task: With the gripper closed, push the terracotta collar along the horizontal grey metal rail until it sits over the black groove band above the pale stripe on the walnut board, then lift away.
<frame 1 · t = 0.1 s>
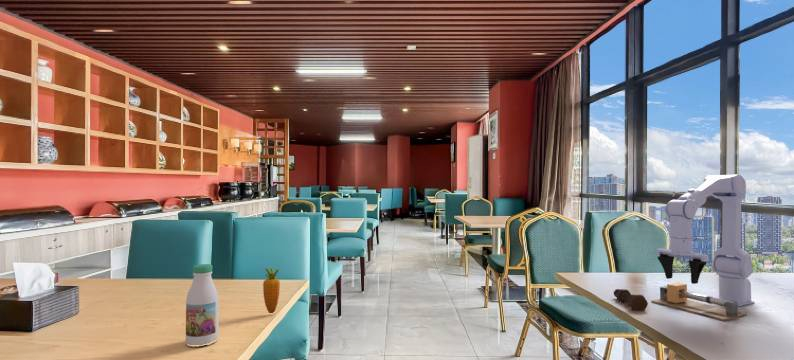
hand: (681, 280, 130), 10 cm above the table, tool pointing down, fingers open, 7 cm apart
rail: (696, 308, 134), resting on board
carrot: (271, 315, 129), on the table
collar: (677, 292, 139), point 4 cm above the table, slide at 0.0 cm
board: (696, 308, 134), on the table
milk bottle: (202, 343, 107), on the table
bolt: (628, 305, 139), on the table
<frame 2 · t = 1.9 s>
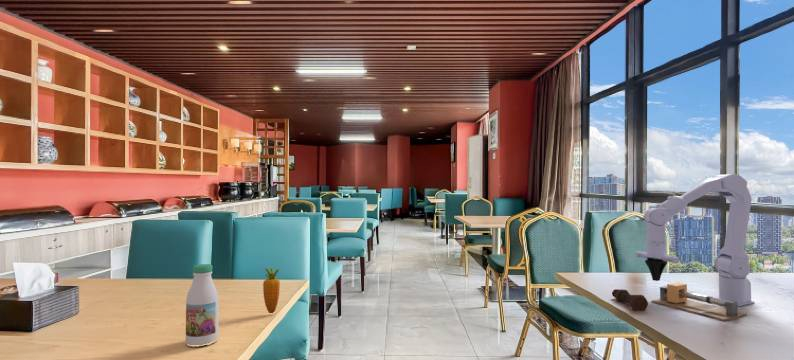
hand: (656, 280, 146), 7 cm above the table, tool pointing down, fingers closed
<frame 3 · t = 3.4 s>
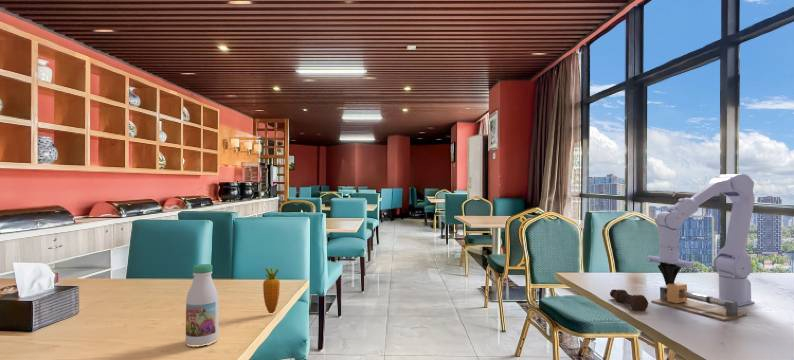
hand: (669, 285, 142), 6 cm above the table, tool pointing down, fingers closed
collar: (677, 292, 139), point 4 cm above the table, slide at 0.0 cm, touching gripper
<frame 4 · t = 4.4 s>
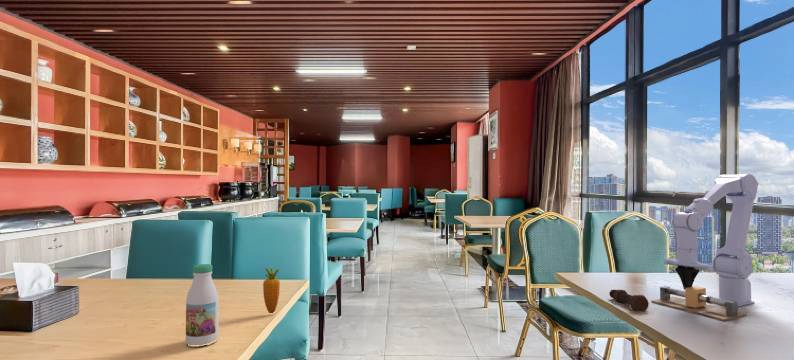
hand: (687, 289, 136), 6 cm above the table, tool pointing down, fingers closed
collar: (695, 296, 134), point 4 cm above the table, slide at 5.8 cm, touching gripper
everything else where it was.
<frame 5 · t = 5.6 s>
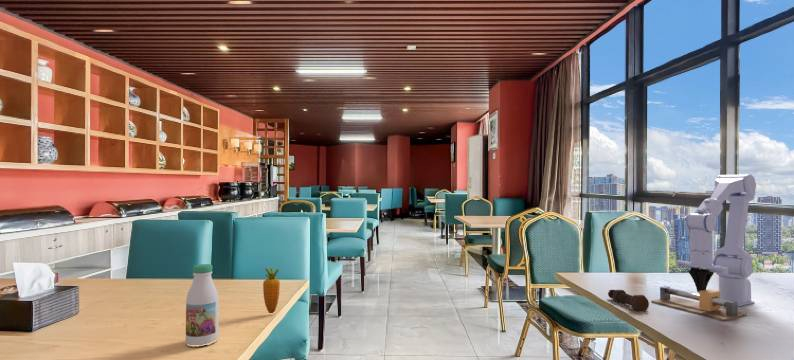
hand: (701, 292, 133), 6 cm above the table, tool pointing down, fingers closed
collar: (709, 300, 130), point 4 cm above the table, slide at 10.0 cm, touching gripper
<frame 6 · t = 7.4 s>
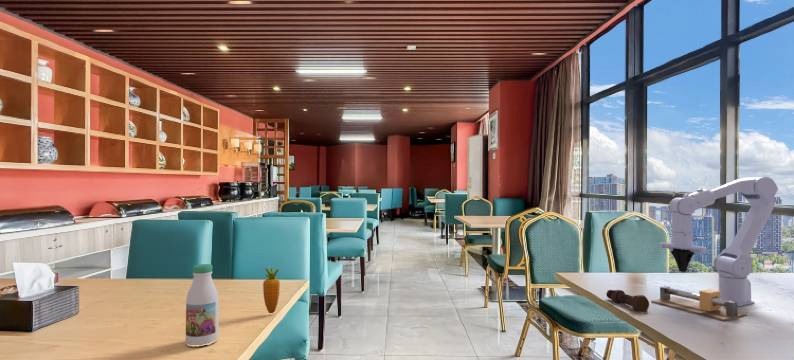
hand: (682, 271, 142), 10 cm above the table, tool pointing down, fingers closed
collar: (709, 300, 130), point 4 cm above the table, slide at 10.0 cm
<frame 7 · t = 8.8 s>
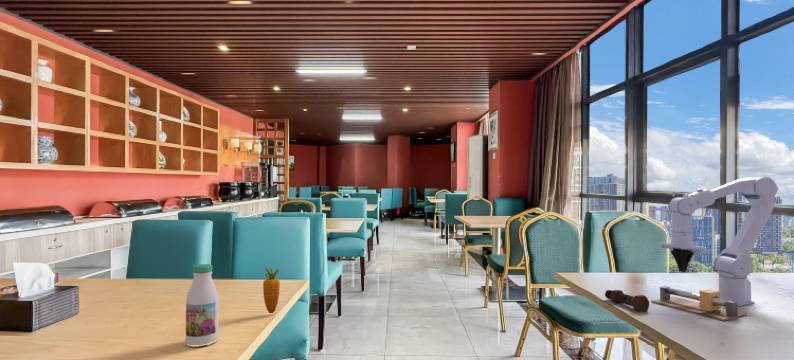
hand: (682, 271, 143), 10 cm above the table, tool pointing down, fingers closed
at the end: collar slide at 10.0 cm; collar touching nothing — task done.
